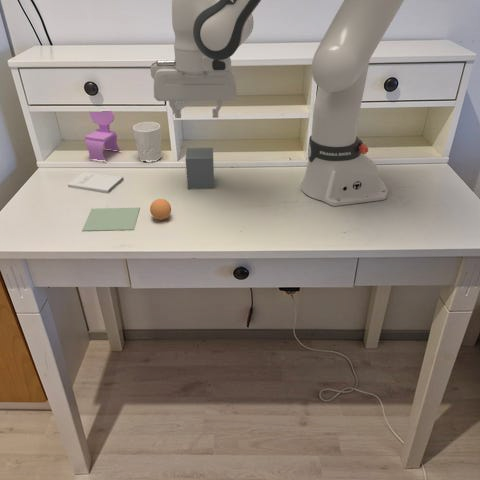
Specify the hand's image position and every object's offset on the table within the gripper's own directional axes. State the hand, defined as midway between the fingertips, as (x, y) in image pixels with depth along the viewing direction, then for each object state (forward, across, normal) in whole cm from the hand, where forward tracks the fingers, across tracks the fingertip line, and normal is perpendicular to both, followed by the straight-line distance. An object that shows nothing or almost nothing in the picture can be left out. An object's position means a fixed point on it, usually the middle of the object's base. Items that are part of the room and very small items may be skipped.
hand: (196, 117), depth 118 cm
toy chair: (+19, -30, +19) cm, 40 cm away
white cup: (+19, -16, +17) cm, 30 cm away
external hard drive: (+20, -29, +1) cm, 35 cm away
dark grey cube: (+19, 0, 0) cm, 19 cm away
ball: (+16, -9, -18) cm, 26 cm away
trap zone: (+19, -21, -18) cm, 33 cm away
